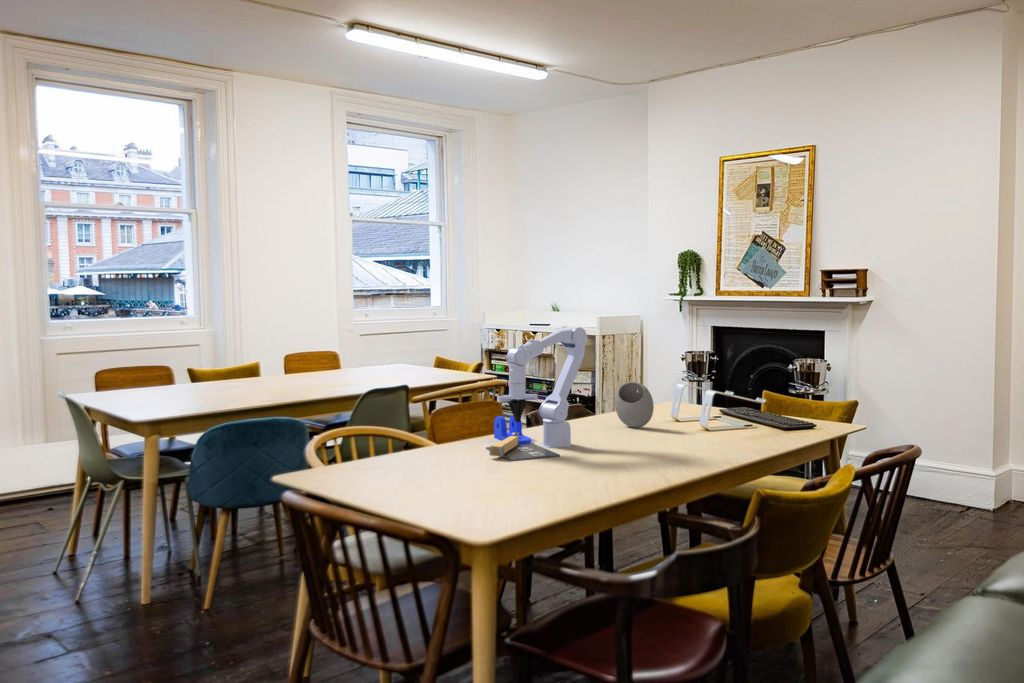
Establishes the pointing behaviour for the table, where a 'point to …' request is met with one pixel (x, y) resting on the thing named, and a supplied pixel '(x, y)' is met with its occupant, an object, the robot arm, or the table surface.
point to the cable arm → (503, 446)
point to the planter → (634, 404)
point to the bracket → (501, 429)
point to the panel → (527, 451)
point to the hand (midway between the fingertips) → (517, 421)
